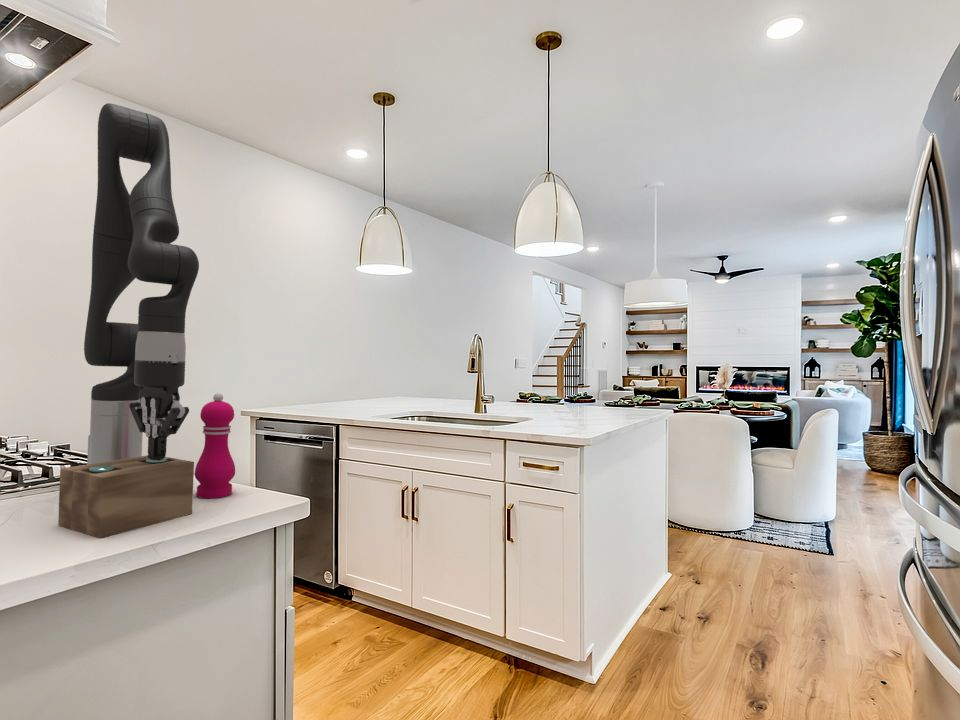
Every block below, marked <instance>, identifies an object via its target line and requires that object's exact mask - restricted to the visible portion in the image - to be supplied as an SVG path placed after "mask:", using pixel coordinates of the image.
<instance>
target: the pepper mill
mask: <svg viewBox="0 0 960 720" xmlns="http://www.w3.org/2000/svg"><path fill="white" fill-rule="evenodd" d="M212 399H213V401H210V402H209V401H208V402H207V403H206V404H203V407H201V408H202V409H201V410H200V415H199V417H200V420H201V421H202V422H203V424H204V425H203V427H202V428H203V431H202V434H203V435H204V447H203V450H202V452H201V454H200V457H199V459H198V461H197V463H196V466H195V467H194V469H195V470H194V478H195V480H196V481H197V482H198V483H199V484H198V485H197V486H196V496H197V497H198V498H202V499H218V498H219V499H220V498H225V497H228V496H230V495H232V493H233V483H230V482H231V481H232V479H234V477H235V475H236V466H235V462H234V459H233V457H232V454H231V452H230V449H229V434H231V432H232V431H231V428H232V426H231V425H230V424H231V422H232V421H233V420H234V418H235V410H234V407H233V406H232V405H231V404H230V403H229V402H226V401H223V399H224V396H223V394H222V393H220V392H216V393H215V394H214V395H213V398H212ZM227 495H228V496H227ZM224 496H225V497H224Z"/></svg>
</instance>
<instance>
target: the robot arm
mask: <svg viewBox="0 0 960 720" xmlns="http://www.w3.org/2000/svg"><path fill="white" fill-rule="evenodd" d="M120 158H123V159H126V160H131V161H136V162H140V163H146V164H149V165H150V167H149V169H148V171H147V172H146V173H145V175H143V176H142V177H141V178H140V179H139V180H138V182H136V184H135V185H134V186H133V187H132V189H131V191H130V193H129V190H128V188H127V185H126V184H125V181H124V178H123V175H122V170H121V164H120ZM171 169H172V168H171V150H170V138H169V133H168V129H167V125H166V124H165V122H164V121H163V119H161V118H160V117H158V116H155V115H153V114H150V113H146V112H143V111H141V110H136V109H134V108H133V109H132V108H129V107H126V106H122V105H120V104H119V105H118V104H115V103H112V102H111V103H109V102H107V103H105V104H103V106H102V107H101V109H100V112H99V115H98V121H97V191H96V192H97V193H96V201H95V202H96V204H95V214H94V221H93V222H94V223H93V233H92V245H91V246H92V249H91V251H92V252H91V284H90V286H91V287H90V296H89V302H88V303H89V304H88V312H87V317H86V318H87V320H86V325H85V331H84V342H83V351H84V352H83V354H84V359H85V361H86V363H87V364H88V365H90V366H94V367H116V368H117V367H121V368H122V367H126V370H125V372H124V373H123V374H122V375H120V376H118V377H115V378H114V379H111V380H108V381H104V382H100V383H97V384H95V385H93V386H92V388H91V393H90V394H91V395H90V396H91V397H90V426H89V427H90V428H89V435H88V437H87V457H86V458H87V462H86V465H87V464H94V463H100V462H107V461H114V460H120V459H127V458H134V457H140V456H143V452H142V451H143V433H144V434H145V437H146V438H148V439H147V455H148V458H149V459H153V460H158V459H164V458H165V457H167V455H166V454H167V445H168V444H167V441H168V439H167V438H168V437H170V435H171V436H172V435H176V434H177V432H178V431H179V429H180V427H181V426H182V424H183V423H184V421H185V420H186V417H187V416H188V415H189V413H190V409H189V407H188V406H183V405H182V404H181V403H180V401H181V397H180V394H179V388H180V387H183V386H184V385H185V380H186V379H185V375H186V357H187V355H186V351H187V350H186V349H187V346H186V337H185V335H186V333H185V330H186V315H187V314H186V312H187V307H188V304H189V300H190V296H191V292H192V291H193V287H194V284H195V282H196V279H197V277H198V274H199V269H200V262H199V258H198V255H197V254H196V252H195V251H194V250H193V249H192V248H190V247H189V246H188V247H187V246H183V245H178V244H173V243H174V242H175V241H176V240H177V239H178V238H179V235H180V228H179V222H178V218H177V213H176V209H175V206H174V201H173V194H172V193H173V192H172V175H171V174H172V171H171ZM135 279H137V280H138V281H141V282H145V283H151V284H163V285H169V286H170V285H171V287H170V290H169V291H168V293H167V294H165V295H163V296H162V295H160V296H149V297H144V298H142V299H141V300H140V301H139V304H138V316H137V323H130V322H115V321H107V320H108V317H109V314H110V311H111V310H112V308H113V306H114V304H115V302H116V301H117V299H118V298H119V297H120V295H121V294H122V293H124V291H125V289H126V288H128V286H129V285H130V284H131V283H133V282H134V280H135Z"/></svg>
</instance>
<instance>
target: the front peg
mask: <svg viewBox="0 0 960 720" xmlns="http://www.w3.org/2000/svg"><path fill="white" fill-rule="evenodd" d="M109 471H114V466H95V467H91V468H89V472H90V473H94V474H97V473H103V472H109Z"/></svg>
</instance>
